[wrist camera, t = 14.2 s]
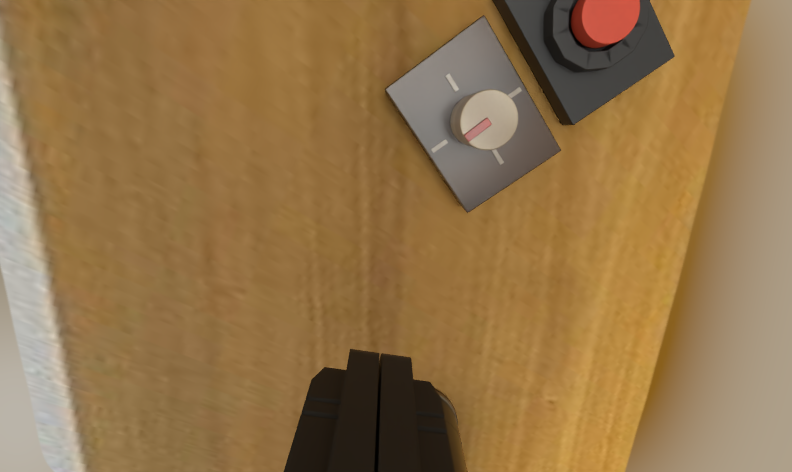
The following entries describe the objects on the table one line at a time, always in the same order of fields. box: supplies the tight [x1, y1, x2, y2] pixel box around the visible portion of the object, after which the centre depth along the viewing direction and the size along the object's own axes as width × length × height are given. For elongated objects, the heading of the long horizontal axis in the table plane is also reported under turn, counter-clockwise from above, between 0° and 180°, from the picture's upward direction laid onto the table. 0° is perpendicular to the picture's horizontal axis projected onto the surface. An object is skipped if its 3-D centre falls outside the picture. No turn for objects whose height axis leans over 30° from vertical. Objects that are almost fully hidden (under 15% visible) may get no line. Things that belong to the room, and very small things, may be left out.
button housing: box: [493, 0, 674, 125], centre depth 30 cm, size 12×9×4 cm
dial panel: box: [385, 15, 561, 213], centre depth 32 cm, size 12×9×3 cm
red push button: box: [571, 0, 640, 48], centre depth 28 cm, size 4×4×2 cm
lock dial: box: [450, 89, 518, 150], centre depth 29 cm, size 4×4×5 cm
